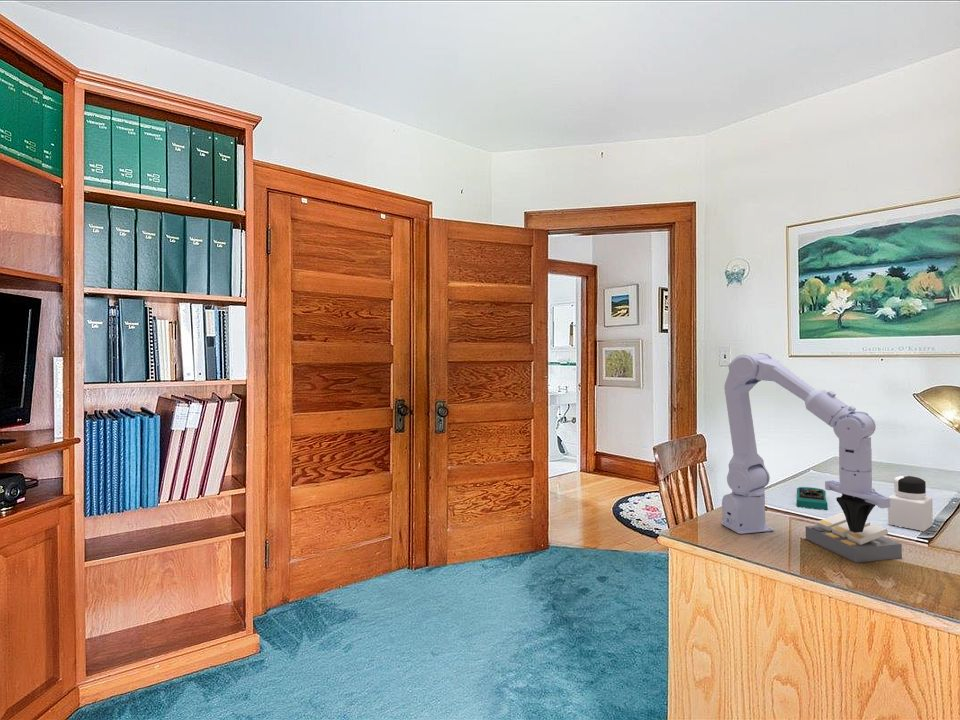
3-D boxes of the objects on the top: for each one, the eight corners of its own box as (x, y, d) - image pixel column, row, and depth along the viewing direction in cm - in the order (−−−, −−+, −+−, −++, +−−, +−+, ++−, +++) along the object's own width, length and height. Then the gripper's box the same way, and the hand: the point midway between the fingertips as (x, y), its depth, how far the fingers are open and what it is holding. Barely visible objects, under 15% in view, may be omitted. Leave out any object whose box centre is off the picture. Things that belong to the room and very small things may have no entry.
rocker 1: (828, 531, 120) (827, 526, 120) (818, 526, 123) (816, 521, 123) (855, 521, 121) (853, 516, 121) (843, 517, 124) (842, 512, 124)
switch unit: (856, 562, 110) (855, 545, 110) (805, 538, 124) (805, 523, 124) (901, 557, 112) (901, 540, 112) (847, 534, 126) (846, 519, 126)
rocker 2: (844, 537, 116) (842, 532, 116) (832, 532, 119) (831, 527, 119) (871, 527, 117) (869, 522, 117) (858, 522, 120) (857, 517, 120)
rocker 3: (860, 544, 112) (859, 539, 112) (847, 539, 115) (846, 534, 115) (888, 533, 113) (886, 528, 113) (875, 528, 116) (873, 523, 116)
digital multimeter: (825, 497, 156) (825, 488, 156) (827, 512, 144) (827, 501, 144) (796, 495, 160) (796, 485, 160) (796, 508, 148) (796, 498, 148)
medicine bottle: (933, 525, 130) (932, 477, 129) (923, 532, 126) (923, 482, 125) (897, 518, 135) (897, 472, 135) (887, 524, 131) (886, 477, 131)
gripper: (903, 475, 106) (903, 541, 107) (843, 460, 121) (844, 518, 121) (872, 478, 105) (873, 544, 106) (816, 462, 120) (817, 521, 120)
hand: (856, 531), depth 113 cm, fingers closed
